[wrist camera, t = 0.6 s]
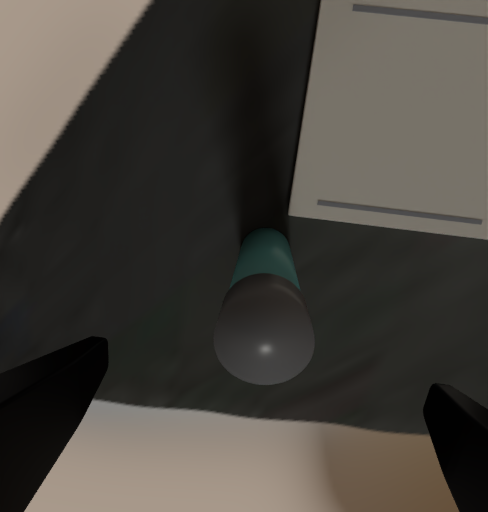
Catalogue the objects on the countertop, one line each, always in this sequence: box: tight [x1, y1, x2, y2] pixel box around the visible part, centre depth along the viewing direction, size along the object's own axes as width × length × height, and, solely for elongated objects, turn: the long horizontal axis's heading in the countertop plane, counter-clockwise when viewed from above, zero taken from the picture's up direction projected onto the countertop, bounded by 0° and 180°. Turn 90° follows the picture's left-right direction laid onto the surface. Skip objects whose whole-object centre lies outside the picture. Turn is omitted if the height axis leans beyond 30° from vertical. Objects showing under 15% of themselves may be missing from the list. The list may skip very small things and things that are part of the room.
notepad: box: [288, 0, 488, 240], centre depth 17 cm, size 12×11×1 cm
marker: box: [213, 228, 315, 385], centre depth 15 cm, size 3×3×10 cm
